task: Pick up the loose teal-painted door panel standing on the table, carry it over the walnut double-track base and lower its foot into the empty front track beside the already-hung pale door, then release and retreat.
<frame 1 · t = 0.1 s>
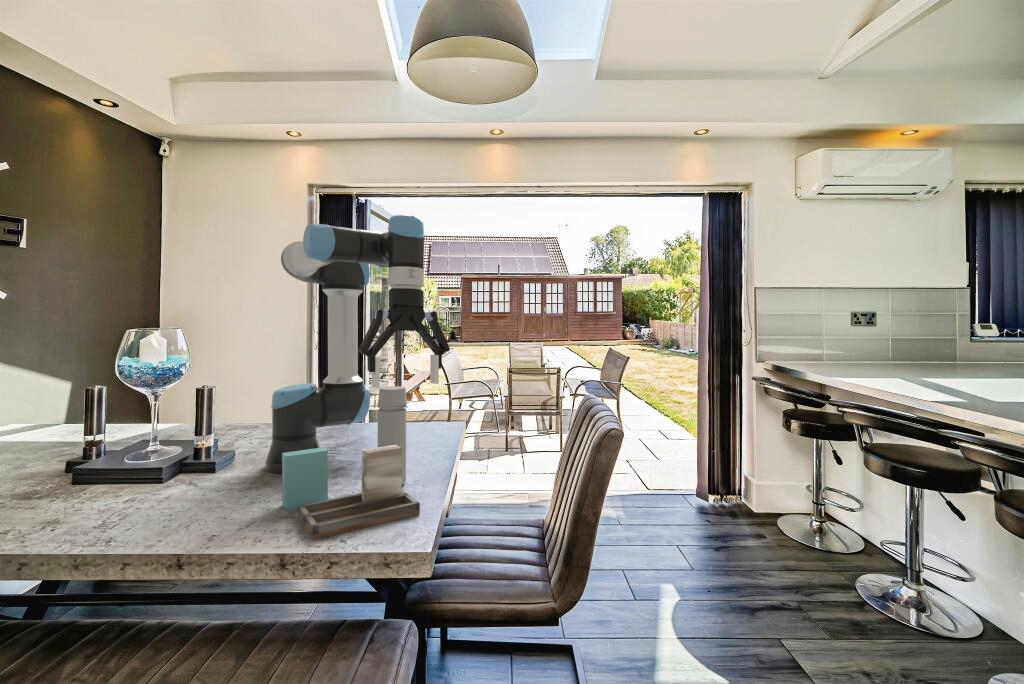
hand: (406, 385, 103), 28 cm above the table, fingers open, 13 cm apart
track base: (359, 515, 101), on the table
teal door: (305, 503, 108), on the table
water bottle: (393, 483, 123), on the table
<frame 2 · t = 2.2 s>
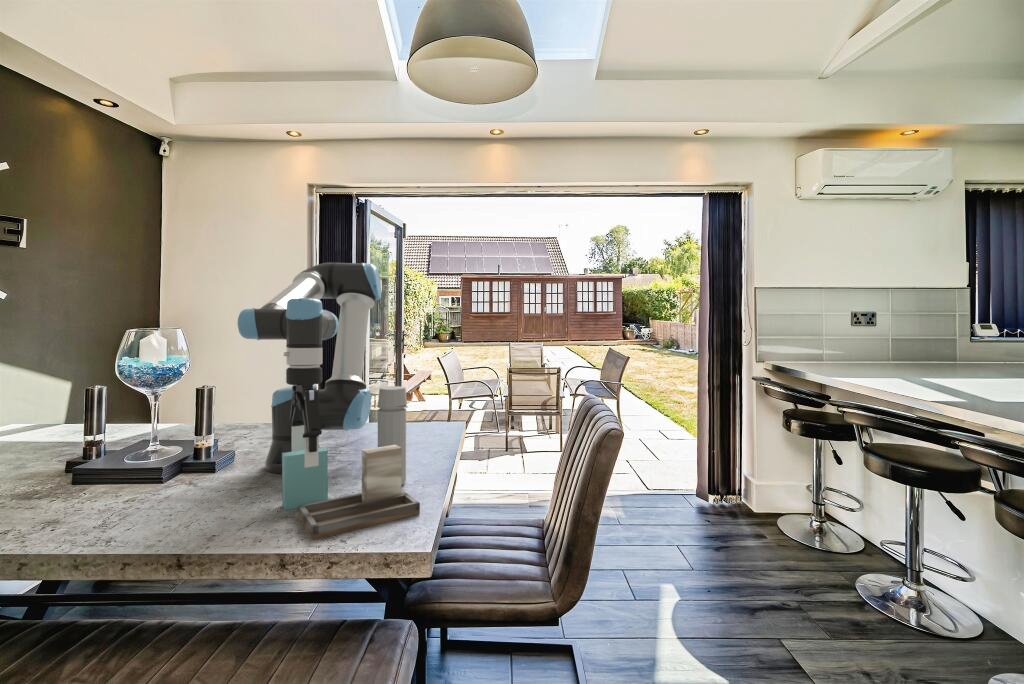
hand: (304, 459, 107), 10 cm above the table, fingers open, 13 cm apart
nothing on the table moved.
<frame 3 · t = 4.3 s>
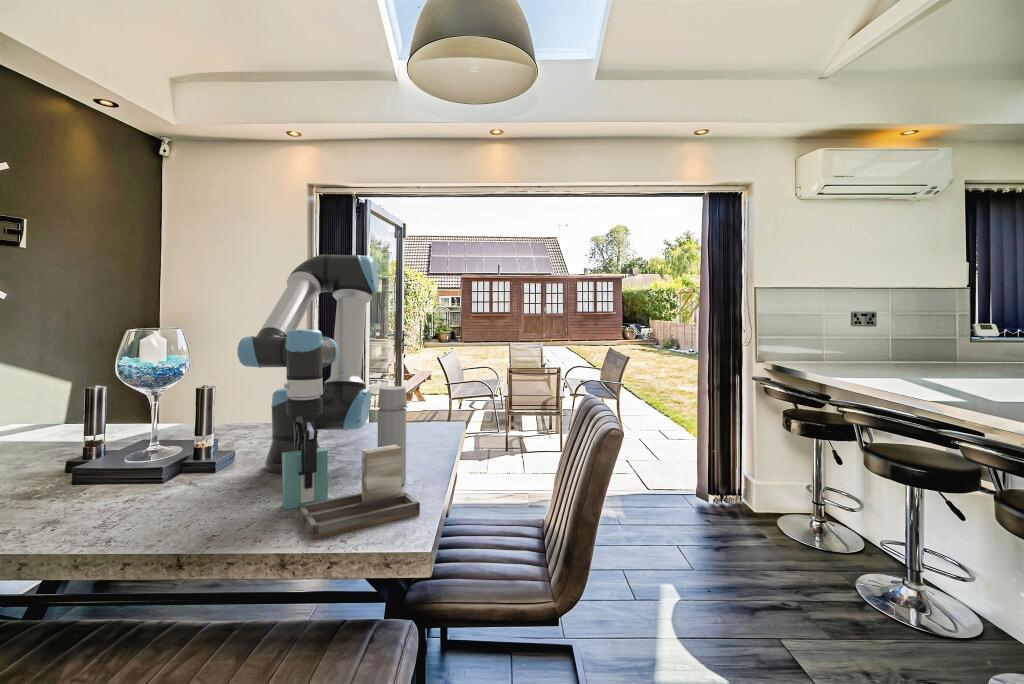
hand: (305, 498, 108), 1 cm above the table, fingers closed on teal door, 3 cm apart
teal door: (305, 503, 108), on the table, touching gripper
everything else where it was.
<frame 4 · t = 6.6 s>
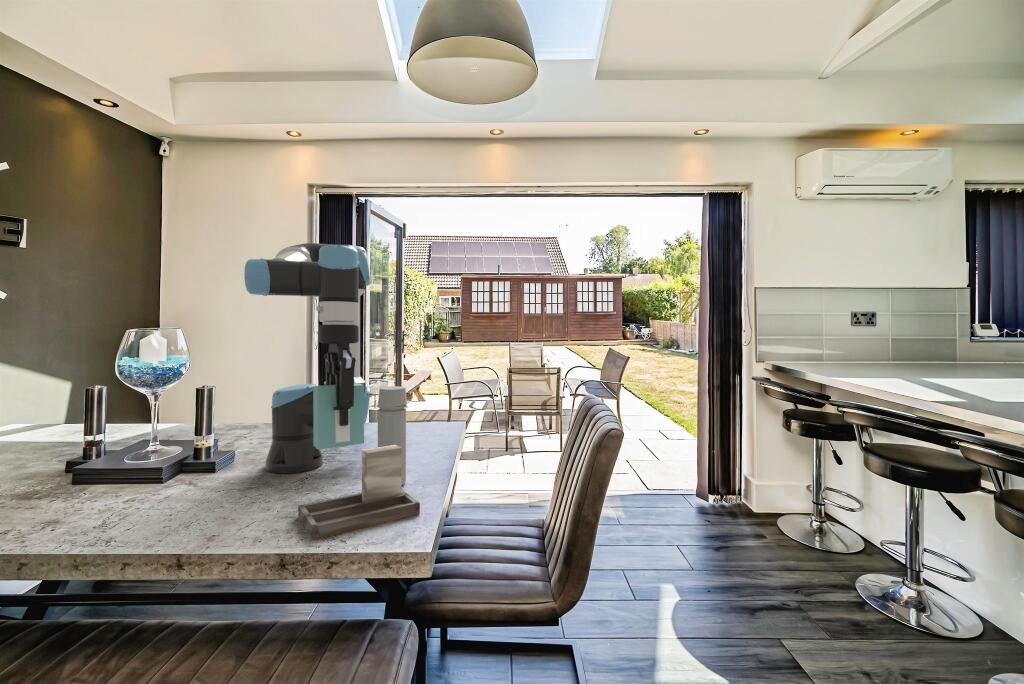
hand: (339, 439, 95), 18 cm above the table, fingers closed on teal door, 3 cm apart
teal door: (339, 444, 95), point 17 cm above the table, touching gripper
everything else where it was.
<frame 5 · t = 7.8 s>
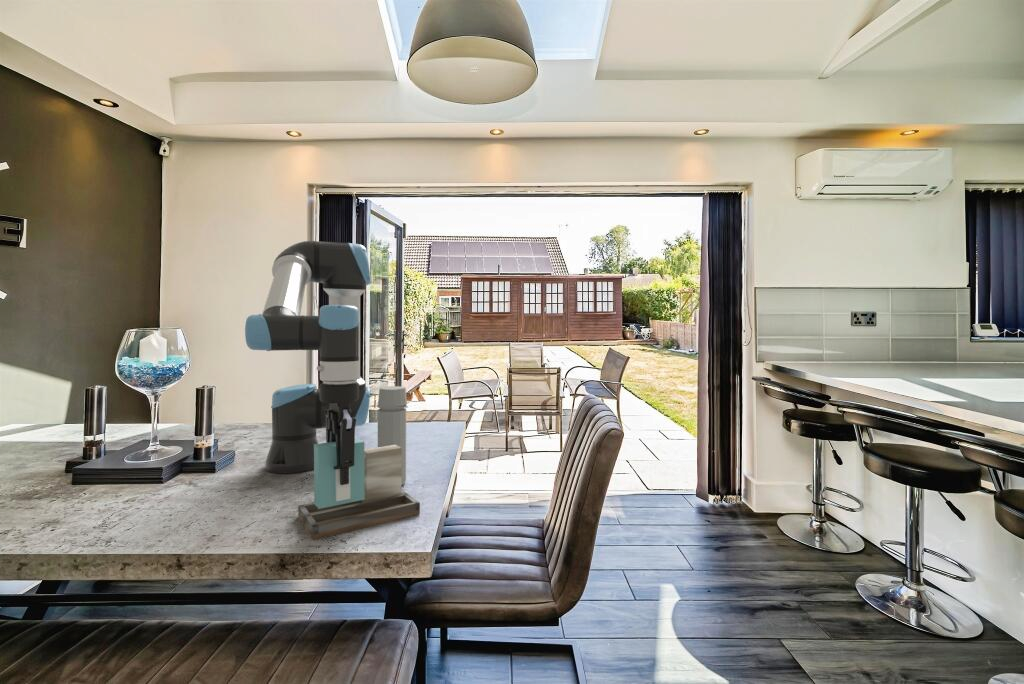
hand: (339, 496, 96), 6 cm above the table, fingers closed on teal door, 3 cm apart
teal door: (339, 501, 96), point 5 cm above the table, touching gripper
everything else where it was.
when the fingers open (3 cm above the table, at t = 9.0 s): teal door stays where it is, resting on track base.
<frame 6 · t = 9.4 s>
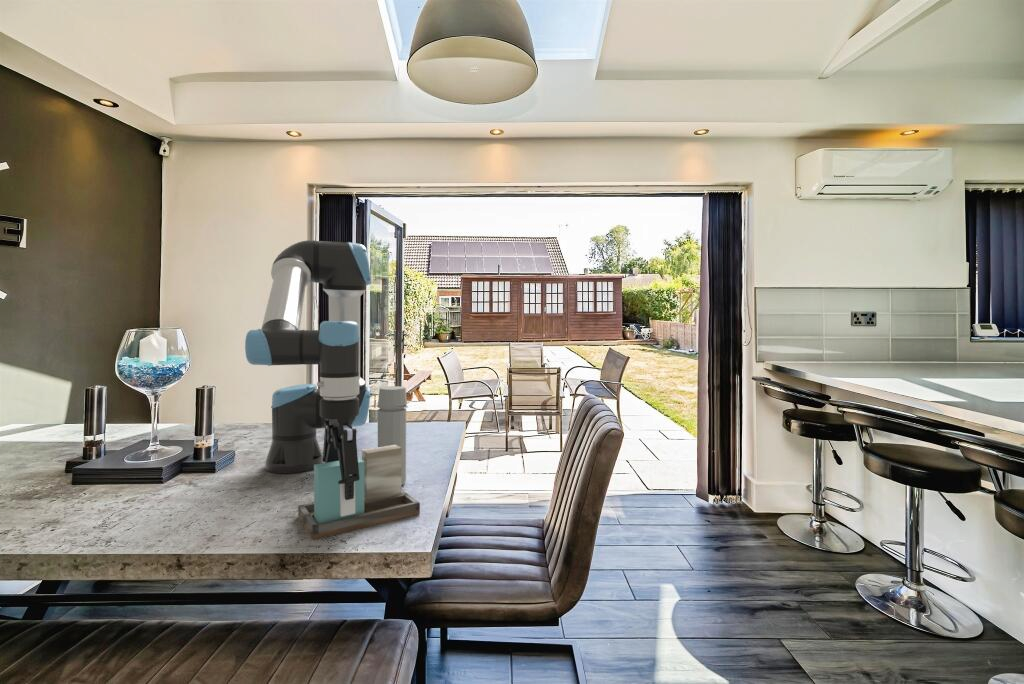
hand: (339, 505, 96), 4 cm above the table, fingers open, 10 cm apart
teal door: (339, 521, 96), point 1 cm above the table, touching track base
everything else where it was.
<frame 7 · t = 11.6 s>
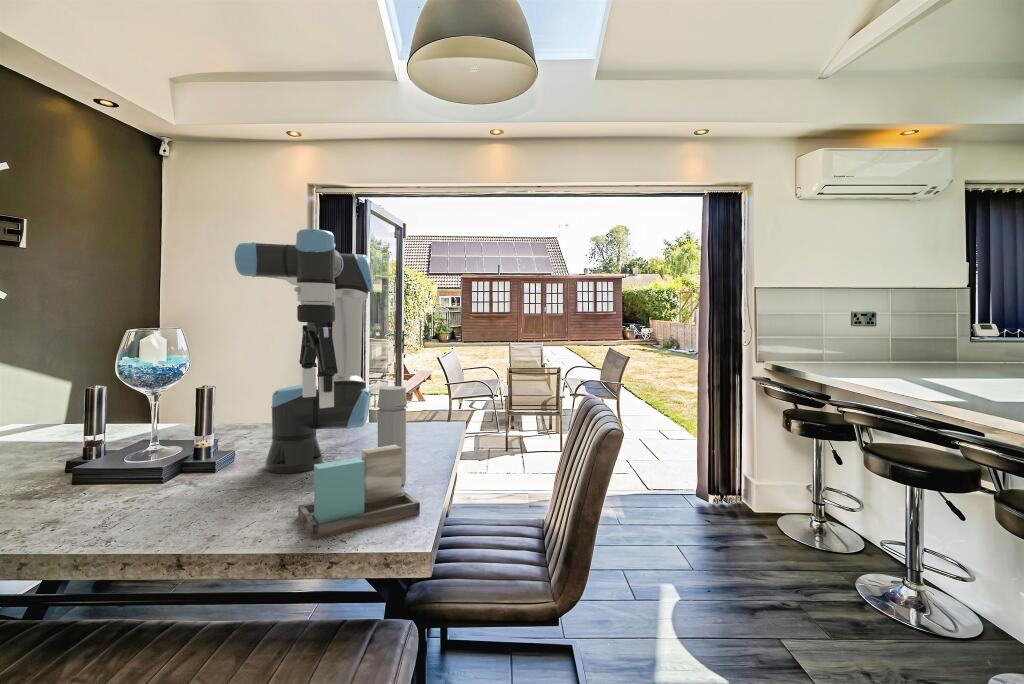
hand: (317, 401, 102), 24 cm above the table, fingers open, 13 cm apart
nothing on the table moved.
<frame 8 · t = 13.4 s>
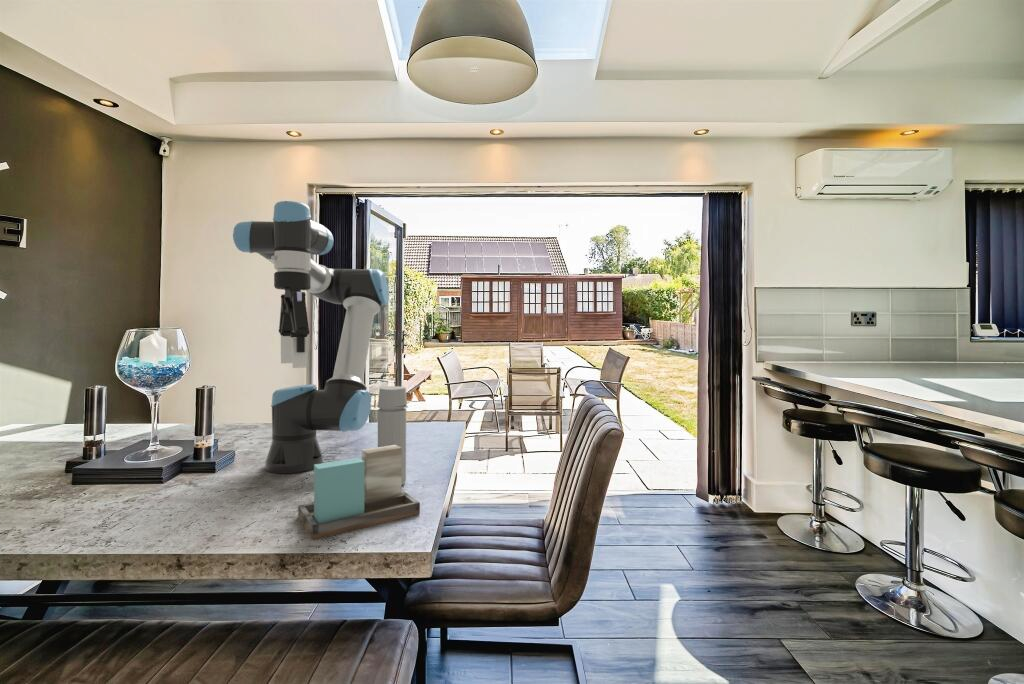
hand: (293, 365, 107), 32 cm above the table, fingers open, 13 cm apart
nothing on the table moved.
at the end: teal door inside the target area on the track base (2.1 cm from its centre), point 1.0 cm above the track base's base; teal door tilted 0°; the gripper is holding nothing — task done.
